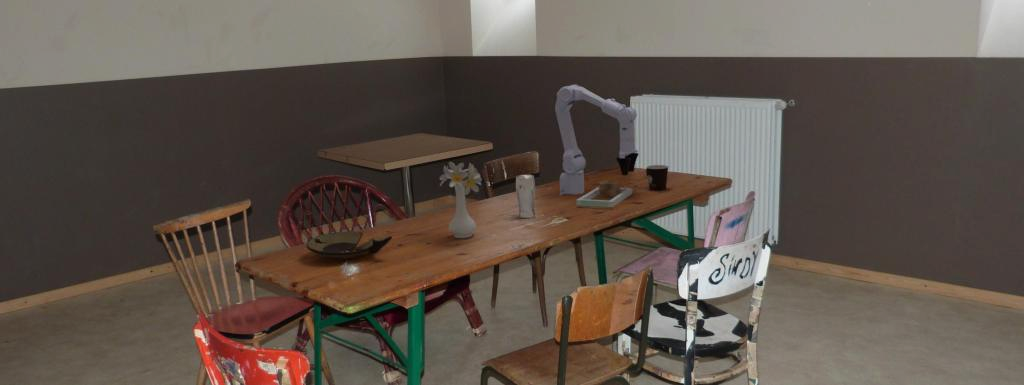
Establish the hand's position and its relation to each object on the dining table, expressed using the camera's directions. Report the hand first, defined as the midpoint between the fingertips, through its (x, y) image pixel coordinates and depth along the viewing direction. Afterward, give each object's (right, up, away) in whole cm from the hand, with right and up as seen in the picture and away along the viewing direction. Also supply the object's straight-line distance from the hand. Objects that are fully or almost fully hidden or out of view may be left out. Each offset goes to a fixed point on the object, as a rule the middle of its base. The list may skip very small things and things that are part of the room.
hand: (627, 173), depth 330 cm
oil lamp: (-97, -28, -60) cm, 118 cm away
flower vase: (-61, -22, -43) cm, 78 cm away
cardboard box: (-7, -9, +3) cm, 12 cm away
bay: (-9, -11, -2) cm, 14 cm away
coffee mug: (+14, -7, +13) cm, 20 cm away
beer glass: (-40, -16, -19) cm, 47 cm away
